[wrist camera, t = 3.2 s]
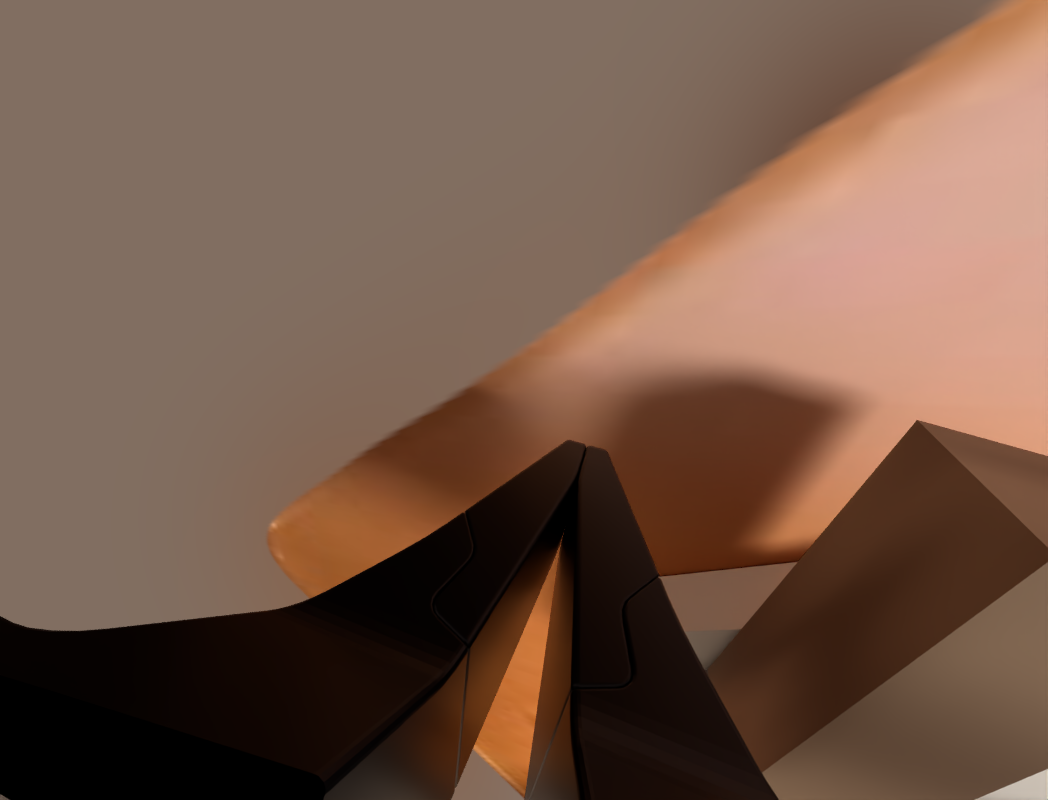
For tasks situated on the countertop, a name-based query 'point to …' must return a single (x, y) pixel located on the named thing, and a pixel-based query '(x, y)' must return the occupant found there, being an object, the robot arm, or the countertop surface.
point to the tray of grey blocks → (727, 605)
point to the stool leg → (907, 634)
